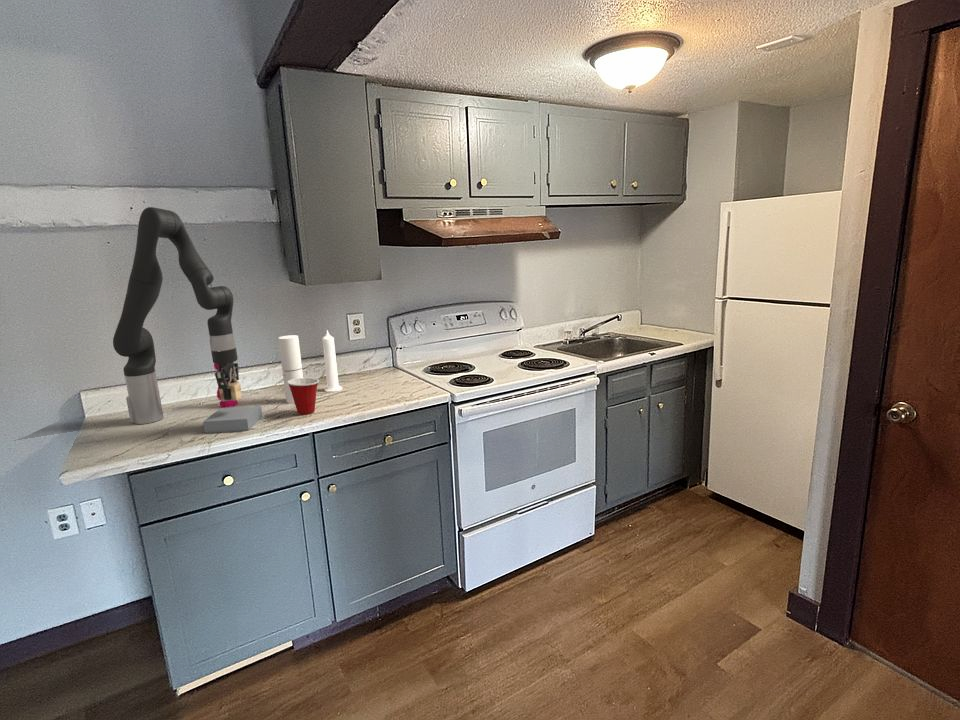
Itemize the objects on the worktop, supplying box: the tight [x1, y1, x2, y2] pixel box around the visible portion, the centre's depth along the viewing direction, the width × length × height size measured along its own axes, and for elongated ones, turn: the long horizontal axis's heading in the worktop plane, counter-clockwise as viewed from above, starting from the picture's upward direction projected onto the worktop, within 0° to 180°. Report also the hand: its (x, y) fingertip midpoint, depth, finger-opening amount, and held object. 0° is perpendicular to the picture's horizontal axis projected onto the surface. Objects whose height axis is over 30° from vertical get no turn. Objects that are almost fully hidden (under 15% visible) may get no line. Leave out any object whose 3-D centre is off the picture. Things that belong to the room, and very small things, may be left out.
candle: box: [321, 329, 343, 393], centre depth 217 cm, size 7×7×25 cm
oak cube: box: [219, 381, 243, 402], centre depth 180 cm, size 5×5×5 cm
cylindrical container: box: [277, 334, 304, 404], centre depth 204 cm, size 7×7×25 cm
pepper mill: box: [213, 363, 239, 408], centre depth 202 cm, size 7×7×20 cm
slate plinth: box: [202, 405, 263, 434], centre depth 182 cm, size 14×14×4 cm
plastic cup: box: [287, 377, 320, 416], centre depth 191 cm, size 11×11×12 cm
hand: (231, 396), depth 180 cm, fingers closed on oak cube, 5 cm apart
